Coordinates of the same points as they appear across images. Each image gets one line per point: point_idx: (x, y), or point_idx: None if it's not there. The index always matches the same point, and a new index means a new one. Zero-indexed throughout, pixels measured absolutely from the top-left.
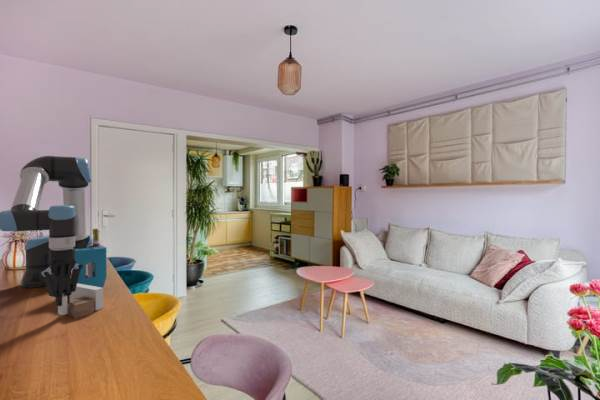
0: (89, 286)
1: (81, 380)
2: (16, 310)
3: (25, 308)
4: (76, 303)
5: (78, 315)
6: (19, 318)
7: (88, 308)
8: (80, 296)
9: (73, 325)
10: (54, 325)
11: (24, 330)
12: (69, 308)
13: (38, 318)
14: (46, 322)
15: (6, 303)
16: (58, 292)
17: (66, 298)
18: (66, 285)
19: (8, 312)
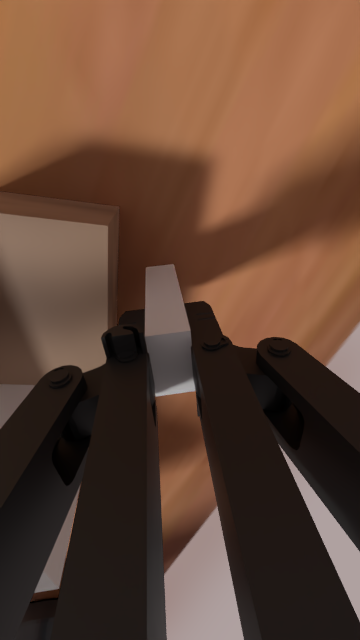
0: None
1: None
2: (205, 486)
3: (181, 486)
4: (84, 262)
5: (98, 206)
6: None
7: (15, 200)
8: (3, 411)
9: (192, 57)
10: (242, 201)
11: (333, 272)
12: (112, 316)
13: None
14: (232, 290)
15: (187, 541)
16: (243, 376)
17: (153, 321)
18: (147, 449)
19: None
